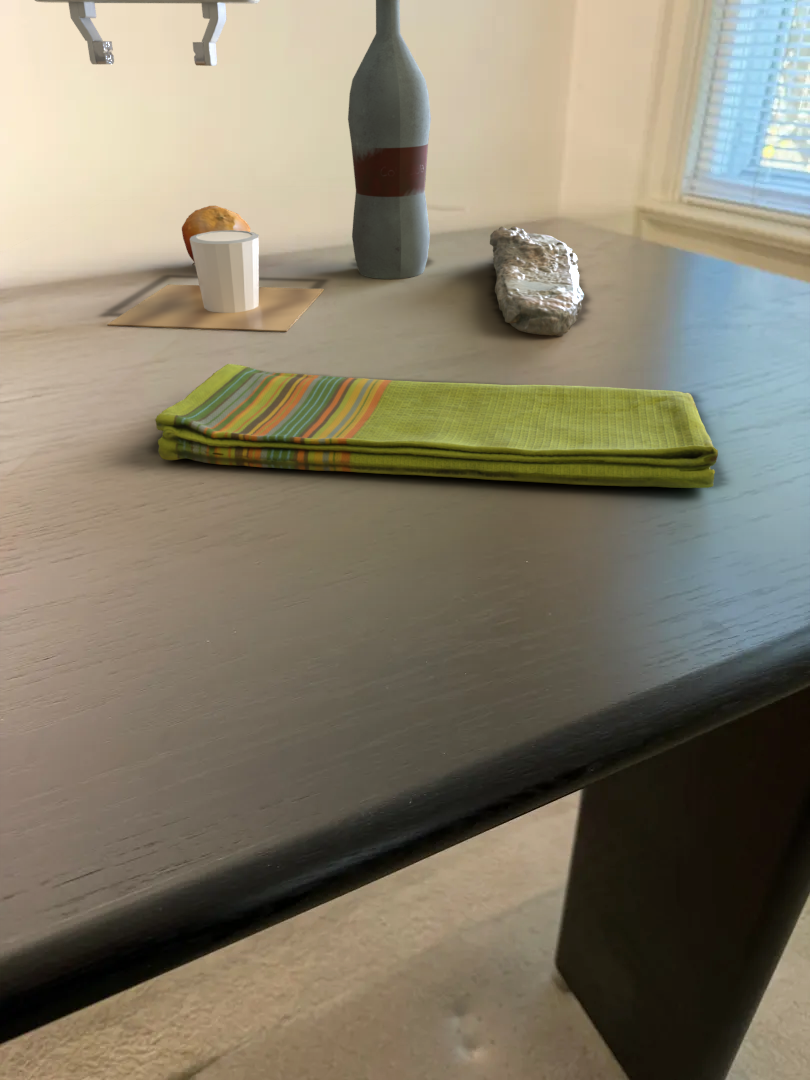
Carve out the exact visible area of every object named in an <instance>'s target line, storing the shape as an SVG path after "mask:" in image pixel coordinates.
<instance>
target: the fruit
mask: <svg viewBox="0 0 810 1080" xmlns="http://www.w3.org/2000/svg"><path fill="white" fill-rule="evenodd" d="M225 230H235V231H248V232H251V227H250V225H249V224H248V222H247V221H246V220H245V219H243V218H242V217H241V215H240V214H239V213H237V212H235V211H233V210H230V209H227V208H225V207H221V206H218V205H208V206H204V207H202V208H199V209H196V210H194V211H193V212H191V214H189V215H188V216H187V217H186V219H185V221H184V222H183V224H182V226H181V234H182V239H183V242H184V245H185V249H186V251H187V254H188V255H189V257H190V259H191V260H192V262H193V263H192V265H193V266H195V262H194V257H193V253H192V248H191V243H190V238H191V237H192V236H194V235H197V234H201V233H206V232H212V231H225Z"/></svg>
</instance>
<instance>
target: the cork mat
mask: <svg viewBox="0 0 810 1080" xmlns="http://www.w3.org/2000/svg"><path fill="white" fill-rule="evenodd" d="M324 290H325V289H324V288H304V287H303V288H302V287H301V288H300V287H273V286H272V287H271V286H269V287H268V286H267V287H266V286H264V287H263V286H259V305H258V307H256V308H254V309H251V310H248V311H243V312H236V313H218V312H212V311H208V310H206V309H205V308H204V304H203V300H202V295H201V290H200V286H199V284H171V283H170V284H167V285H165V286H164V287H162V288H160V289H159V290H157V291H156V292H154V293H153V294H151V295H150V296H148V297H147V298H145V299H144V300H142V301H140V302H139V303H138V304H135V306H133V307H131V308H130V309H128V310H127V311H125V312H123V313H122V314H120V315H119V316H117V317H116V318H115V319H113V320H112V321H109V323H107V324H106V325H107V326H110V327H111V326H112V327H136V328H159V329H163V328H166V329H187V330H189V329H191V330H193V329H194V330H214V331H215V330H217V331H218V330H219V331H221V330H222V331H244V332H245V331H247V332H271V333H288V331H289V330H290V329H291V328H292V327H293V325H295V324H296V322H297V321H298V320H299V319H300V318H301V317H302V316H303V314H304V313H305V312H306V311H307V310H308V309H309V308H310V307H311V305H312V304H313V303H314V302H315V301H316V300H317V299H318V297H319V296H320V295H321V294H322V293H323V292H324Z"/></svg>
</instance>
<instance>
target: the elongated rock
mask: <svg viewBox="0 0 810 1080" xmlns="http://www.w3.org/2000/svg"><path fill="white" fill-rule="evenodd" d="M489 245H490V246H491V247H492V255H493V256H492V257H493V258H492V261H493V267H494V269H495V275H496V283H495V286H494V293H495V294H496V298H497V302H498V306H499V311H501V312H502V316H503V318H504V322H505V323H508V324H510V325H511V327H513V328H514V329H516V330H517V331H519V332H523V333H527V334H533V335H539V336H541V335H543V336H559V337H560V336H562V335H563V334H567V333H568V331H570V330H571V327H572V326H573V325H574V324H575V323H576V321H577V320H578V318H579V316H578V315H579V314H580V312H581V311H582V307H583V305H582V301H583V299H584V298H585V294H584V292H583V290H582V289H581V287H580V274H579V266H578V263H579V259H578V256H577V255H576V253H575V252H572V251H573V248H570V247H569V246H567V244H566V242H563V241H561V240H559V239H557V238H555V237H554V236H551V235H550V234H545V233H536V232H535V233H534V232H531V233H530V232H526V231H525V230H524V229H523V228H519V227H517V226H511V227H510V228H508V229H507V228H505V227H504V226H499V228H498V229H495V230H493V231H492V232H491V233H490V235H489Z"/></svg>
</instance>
